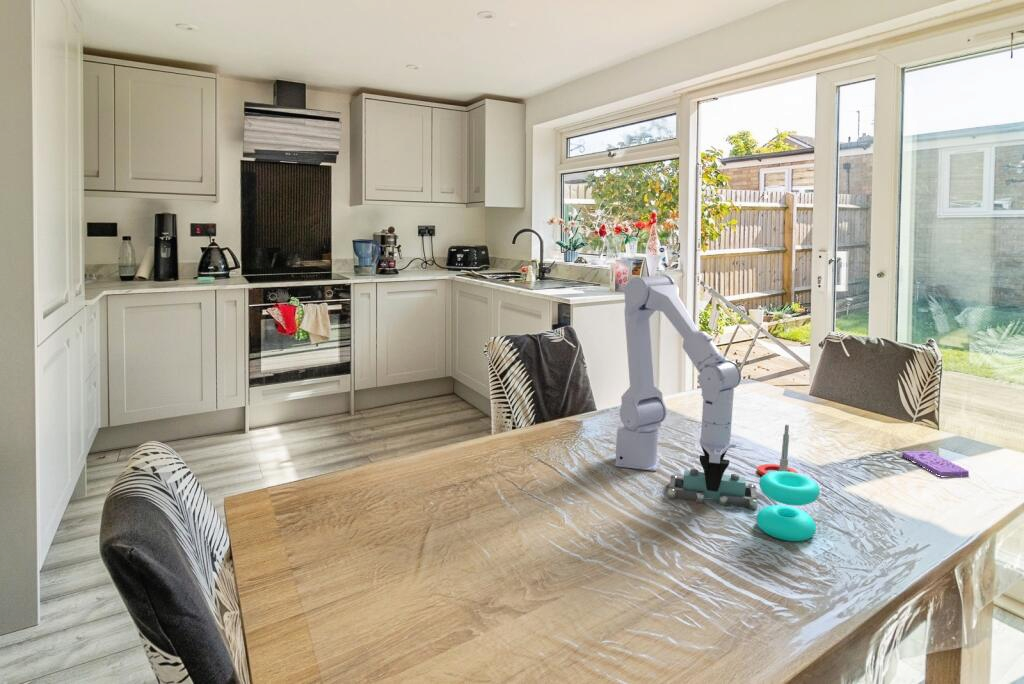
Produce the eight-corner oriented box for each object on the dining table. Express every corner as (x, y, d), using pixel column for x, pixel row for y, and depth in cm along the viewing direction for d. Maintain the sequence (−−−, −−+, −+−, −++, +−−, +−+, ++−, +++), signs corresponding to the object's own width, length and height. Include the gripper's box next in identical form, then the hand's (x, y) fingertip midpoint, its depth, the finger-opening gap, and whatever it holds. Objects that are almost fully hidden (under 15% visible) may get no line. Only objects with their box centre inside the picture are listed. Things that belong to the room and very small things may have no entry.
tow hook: (753, 467, 143) (763, 482, 134) (757, 413, 141) (767, 424, 132) (791, 470, 142) (803, 484, 133) (795, 415, 140) (808, 427, 131)
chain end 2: (718, 505, 123) (719, 497, 123) (718, 488, 131) (719, 480, 131) (757, 510, 121) (758, 502, 121) (754, 492, 129) (755, 484, 129)
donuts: (802, 468, 117) (831, 490, 107) (797, 516, 118) (826, 543, 109) (750, 469, 116) (775, 491, 106) (746, 518, 118) (771, 545, 108)
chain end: (667, 498, 126) (667, 490, 126) (670, 482, 134) (670, 474, 134) (704, 503, 124) (704, 495, 124) (705, 486, 132) (705, 478, 132)
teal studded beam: (682, 496, 128) (684, 472, 127) (683, 490, 131) (684, 466, 130) (744, 504, 124) (745, 479, 123) (743, 497, 127) (745, 473, 126)
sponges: (928, 457, 150) (929, 450, 149) (969, 478, 137) (970, 470, 137) (900, 458, 149) (901, 450, 149) (939, 479, 137) (940, 471, 137)
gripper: (738, 434, 116) (733, 500, 119) (736, 412, 130) (732, 472, 133) (699, 430, 119) (695, 495, 121) (701, 408, 132) (698, 468, 135)
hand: (712, 483), depth 127 cm, fingers open, 6 cm apart
